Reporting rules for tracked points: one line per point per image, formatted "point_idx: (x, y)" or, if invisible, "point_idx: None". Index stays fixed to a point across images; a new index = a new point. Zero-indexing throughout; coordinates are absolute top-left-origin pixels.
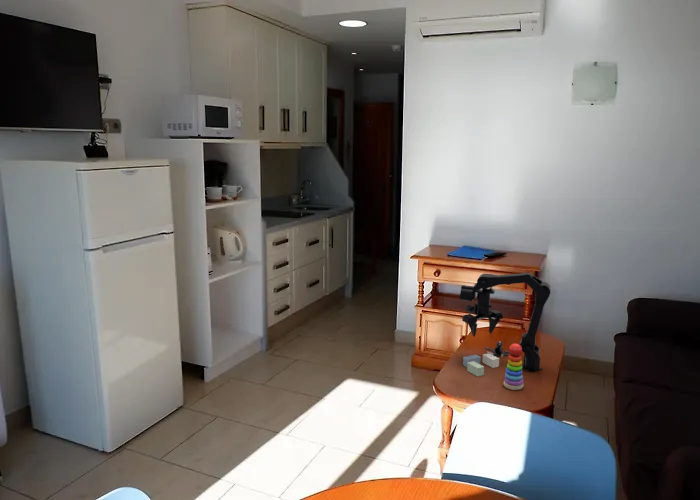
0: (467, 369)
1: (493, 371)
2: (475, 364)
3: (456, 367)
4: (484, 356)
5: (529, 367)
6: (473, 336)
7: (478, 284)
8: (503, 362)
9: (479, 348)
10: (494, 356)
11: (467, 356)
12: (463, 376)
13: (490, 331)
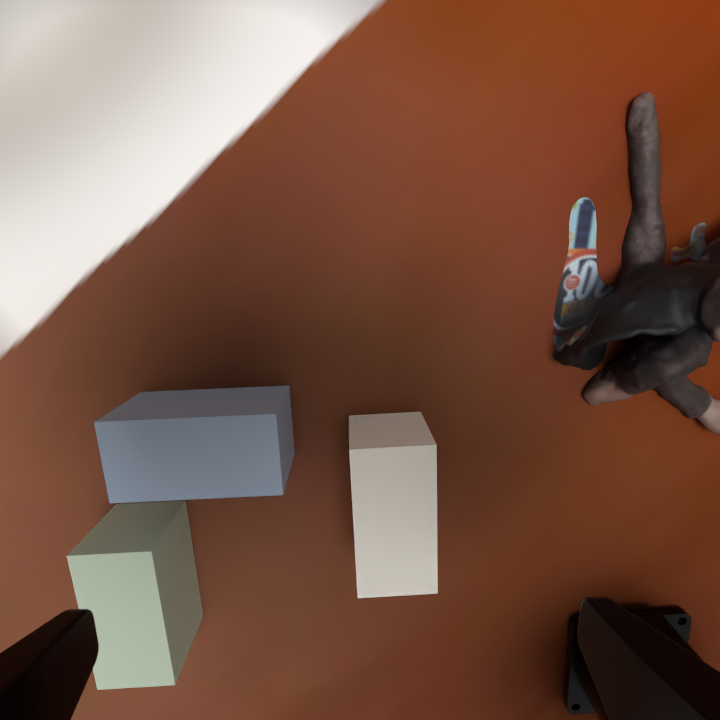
0: (110, 514)
1: (317, 593)
2: (122, 620)
3: (53, 414)
4: (350, 471)
5: (590, 701)
6: (74, 631)
7: None
8: (519, 487)
9: (574, 76)
10: (430, 537)
11: (150, 427)
12: (28, 581)
13: (611, 686)
